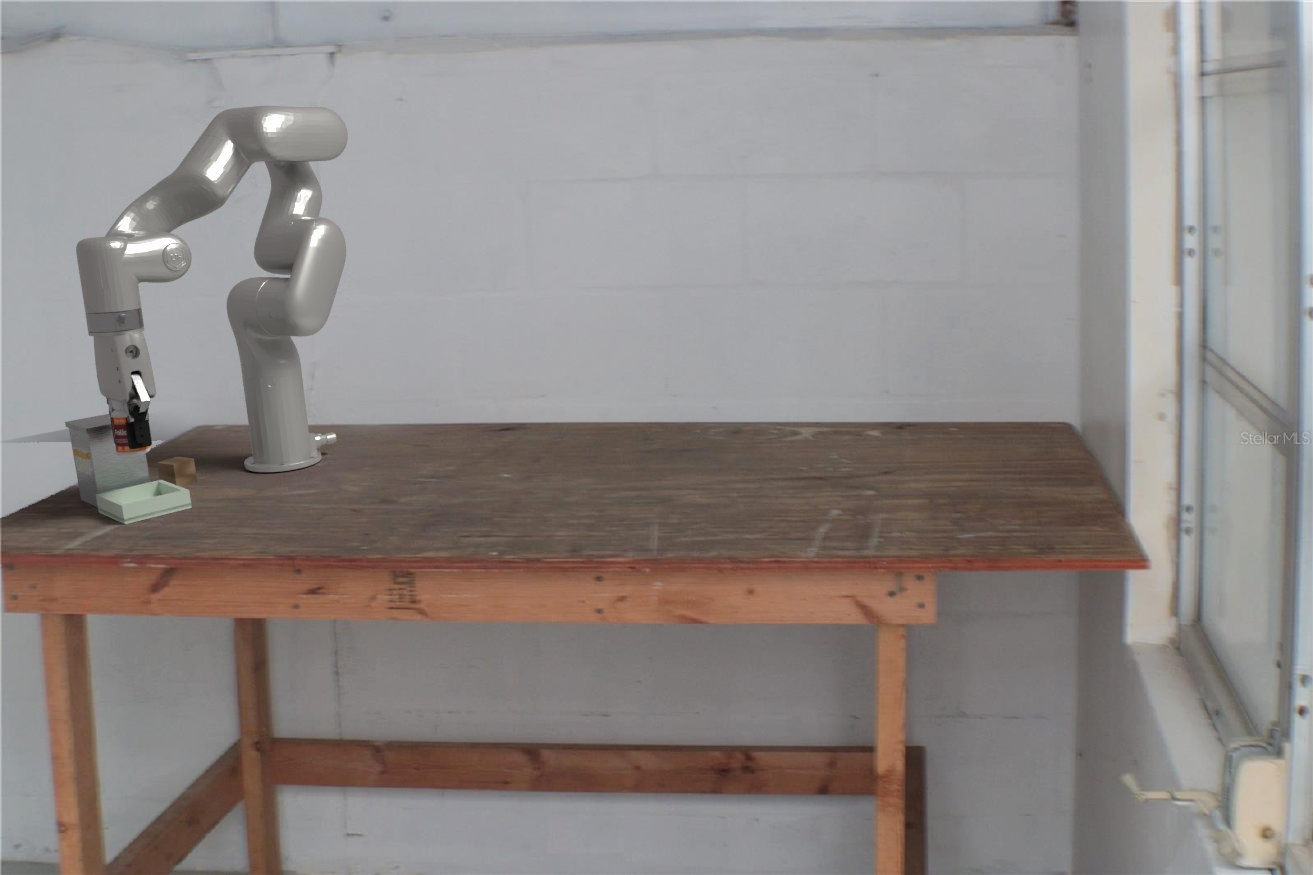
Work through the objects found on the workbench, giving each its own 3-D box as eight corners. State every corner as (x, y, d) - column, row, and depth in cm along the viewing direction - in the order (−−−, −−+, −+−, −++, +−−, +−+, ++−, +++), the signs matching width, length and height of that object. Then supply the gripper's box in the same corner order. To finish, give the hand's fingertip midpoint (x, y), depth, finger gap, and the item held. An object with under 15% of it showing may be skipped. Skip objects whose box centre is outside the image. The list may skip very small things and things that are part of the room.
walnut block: (180, 480, 200) (177, 456, 199) (197, 482, 198) (193, 458, 197) (160, 486, 197) (156, 462, 196) (177, 488, 195) (173, 464, 194)
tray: (163, 496, 190) (161, 479, 189) (191, 507, 183) (189, 489, 182) (98, 512, 183) (95, 494, 182) (125, 524, 176) (122, 505, 175)
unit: (134, 487, 197) (122, 411, 194) (156, 495, 191) (144, 417, 188) (77, 500, 191) (64, 422, 188) (98, 509, 185) (85, 429, 182)
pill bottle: (114, 458, 178) (106, 401, 176) (119, 451, 182) (110, 396, 180) (149, 454, 179) (141, 398, 177) (152, 447, 183) (145, 393, 181)
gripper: (165, 323, 173) (182, 447, 177) (118, 316, 185) (135, 433, 189) (111, 329, 168) (130, 457, 172) (67, 322, 180) (85, 442, 184)
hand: (132, 443), depth 180 cm, fingers closed on pill bottle, 4 cm apart
